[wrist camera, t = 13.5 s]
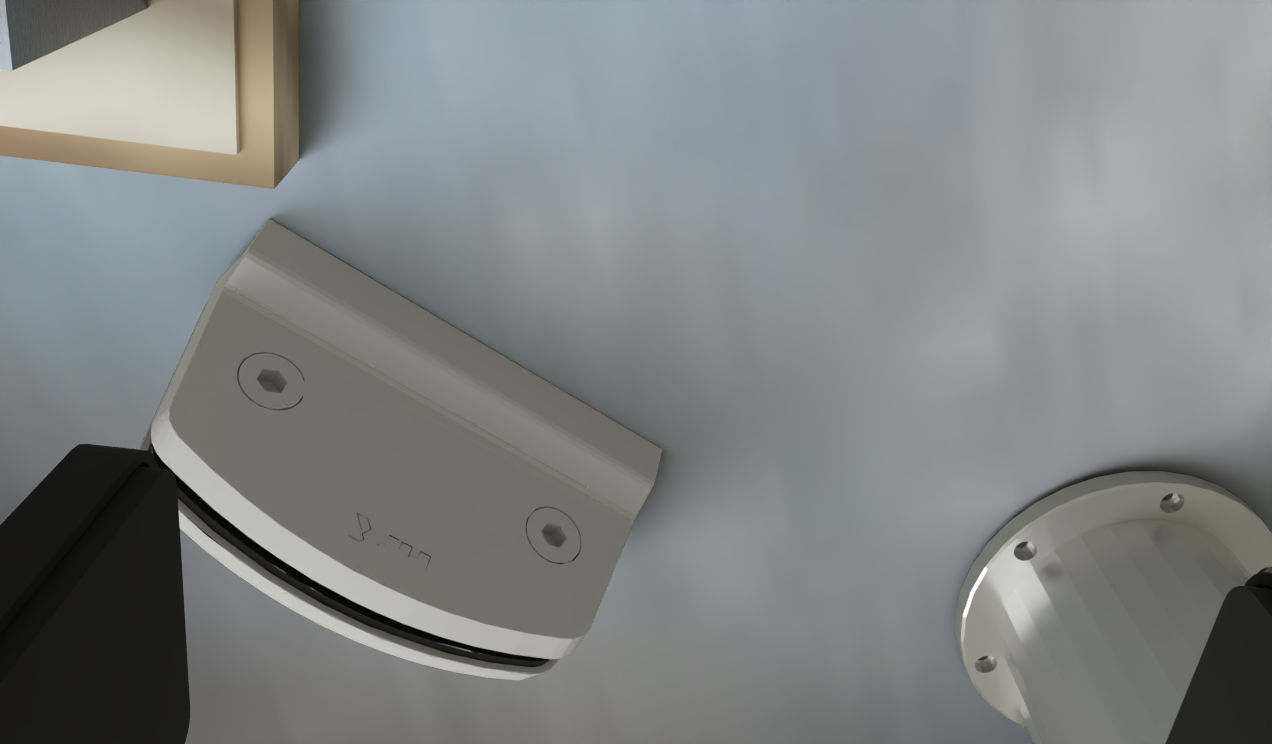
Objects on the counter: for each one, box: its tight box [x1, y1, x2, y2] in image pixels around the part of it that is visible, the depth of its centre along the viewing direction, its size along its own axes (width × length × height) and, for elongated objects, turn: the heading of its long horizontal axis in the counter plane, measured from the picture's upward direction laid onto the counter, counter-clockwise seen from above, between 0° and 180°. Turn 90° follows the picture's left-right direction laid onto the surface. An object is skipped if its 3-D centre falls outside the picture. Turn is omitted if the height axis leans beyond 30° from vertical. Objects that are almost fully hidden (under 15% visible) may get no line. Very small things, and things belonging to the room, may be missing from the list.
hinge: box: [140, 219, 662, 680], centre depth 38 cm, size 17×5×10 cm, turn 56°
